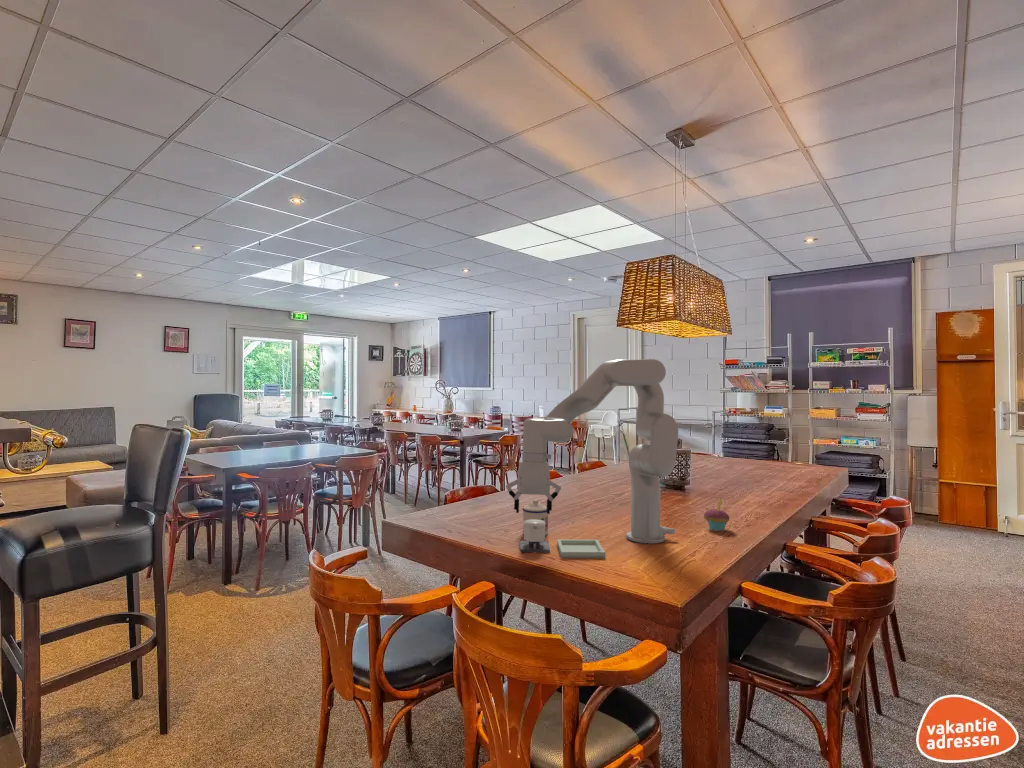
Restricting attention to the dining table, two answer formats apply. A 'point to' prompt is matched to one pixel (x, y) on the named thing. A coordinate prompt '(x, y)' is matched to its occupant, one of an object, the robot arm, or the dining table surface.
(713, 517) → the cupcake
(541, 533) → the white earbud case
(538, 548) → the post stand
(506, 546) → the dining table surface
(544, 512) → the teacup with lid
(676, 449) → the robot arm
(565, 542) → the tray
